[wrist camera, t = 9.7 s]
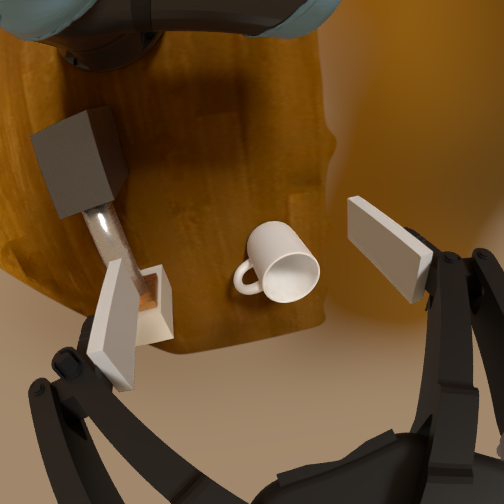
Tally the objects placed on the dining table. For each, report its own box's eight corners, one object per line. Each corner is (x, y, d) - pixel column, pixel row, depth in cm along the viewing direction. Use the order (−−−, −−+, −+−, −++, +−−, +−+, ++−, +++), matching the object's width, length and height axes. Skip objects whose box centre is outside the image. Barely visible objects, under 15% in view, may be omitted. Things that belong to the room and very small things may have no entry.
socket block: (122, 275, 45) (113, 324, 36) (161, 264, 46) (160, 312, 36) (133, 298, 48) (128, 348, 38) (171, 288, 49) (173, 338, 39)
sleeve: (64, 123, 31) (30, 136, 22) (110, 104, 32) (86, 109, 23) (85, 188, 37) (60, 219, 28) (129, 172, 38) (114, 200, 28)
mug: (239, 282, 51) (253, 324, 43) (215, 247, 47) (226, 287, 38) (301, 248, 51) (326, 284, 42) (283, 210, 46) (309, 241, 38)
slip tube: (73, 183, 32) (56, 201, 27) (117, 167, 33) (106, 182, 27) (127, 303, 43) (123, 332, 38) (164, 293, 44) (165, 322, 38)
